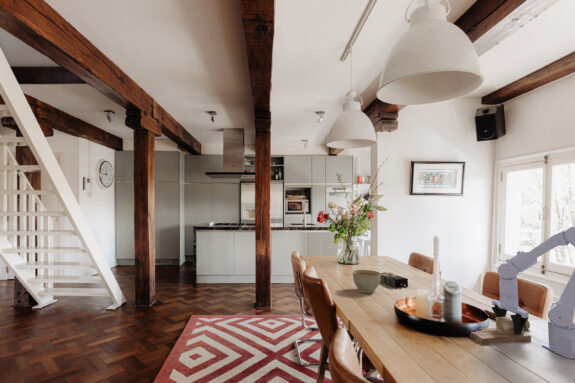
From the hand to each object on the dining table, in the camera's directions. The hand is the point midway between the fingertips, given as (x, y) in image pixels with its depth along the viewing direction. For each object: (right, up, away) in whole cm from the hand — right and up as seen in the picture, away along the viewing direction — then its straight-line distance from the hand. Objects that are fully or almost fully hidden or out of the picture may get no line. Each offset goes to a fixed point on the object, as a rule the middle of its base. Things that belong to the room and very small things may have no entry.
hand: (509, 330), depth 117 cm
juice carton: (-18, -7, +78) cm, 80 cm away
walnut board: (-5, -3, -1) cm, 6 cm away
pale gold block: (0, -1, 0) cm, 1 cm away
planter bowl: (-39, -6, +61) cm, 73 cm away
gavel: (+7, -4, +16) cm, 18 cm away
